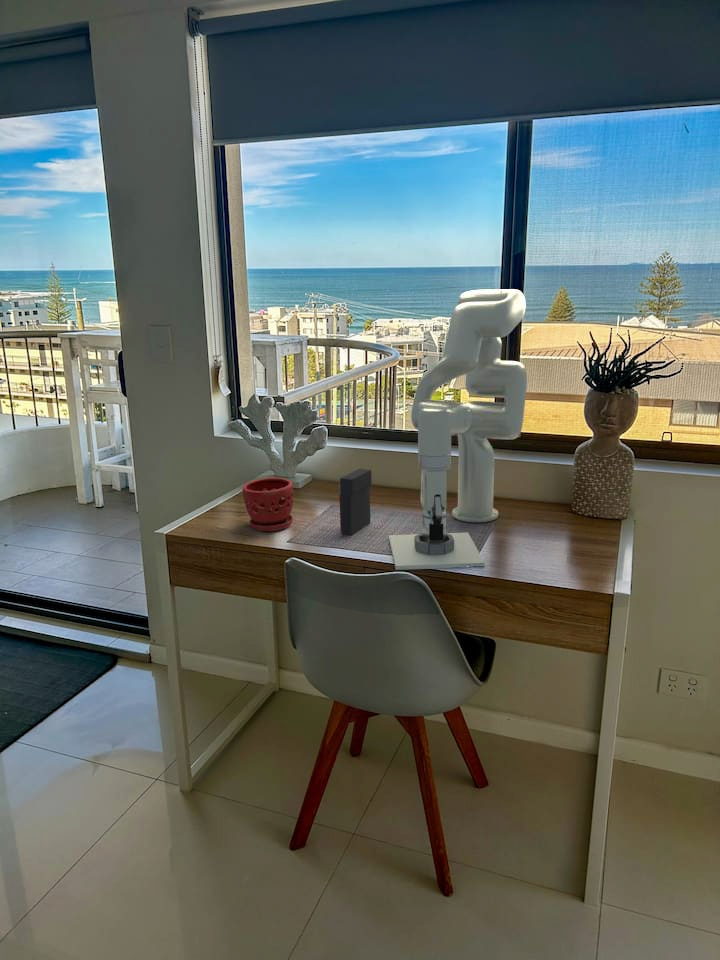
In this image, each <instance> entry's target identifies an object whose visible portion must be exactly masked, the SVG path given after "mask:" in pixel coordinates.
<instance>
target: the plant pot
mask: <svg viewBox="0 0 720 960" xmlns="http://www.w3.org/2000/svg"><path fill="white" fill-rule="evenodd" d="M293 487H294V486H293V482H292V481H291V480H290V479H286V478H281V477H266V478H265V477H264V478H260V479H256V480H251V481H249V482H247V483H245V484H244V485H243V487H242V494H243V495H242V496H243V501H244V505H245V508H246V512H247V513H248V515H249V517H250V520H249V525H250V527H252V529H255V530H257V531H259V532H276V531H281V530H283V529H285V528H288V527H289V526H290V525H291V524H292V523H293V520H294V517H293V516H292V515H291V513H292V511H293V506H294V488H293ZM264 489H266V490H264Z"/></svg>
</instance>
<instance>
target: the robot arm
mask: <svg viewBox="0 0 720 960" xmlns="http://www.w3.org/2000/svg"><path fill="white" fill-rule="evenodd" d="M526 307H527V304H526V297H525V295H524V293H523V292H522V291H521V290H519V289H514V288H511V289H510V288H509V289H500V288H499V289H475V290H474V289H473V290H468V291H465V292H463V293H461V294H460V296H458V301H457V306H456V307H455V308H454V309H453V311H452V314H451V317H450V322H449V325H448V330H447V335H446V339H445V343H444V348H443V353H442V357H441V359H440V360H439V361H438V362H437V363H435V364H434V365H433V366H432V367H431V368H430V369H429V370H428V371H427V372H426V373H425V374H424V375H423V377H422V378H421V380H420V381H419V383H418V384H417V386H416V390H415V393H414V396H413V397H414V398H413V401H412V402H413V403H412V407H411V413H410V414H411V415H410V416H411V417H410V418H411V423H412V426H413V428H415V429H416V430H417V439H418V440H417V450H418V451H417V452H418V453H417V454H418V456H417V458H418V459H417V461H418V463H417V464H418V465H417V468H419V469H420V470H421V476H420V504H421V506H422V510H423V509H424V511H425V512H428V511H430V522H431V523H429V539H430V540H443V512H444V511H445V510H446V511H447V471H448V470H449V469H451V468H452V436H454V435H457V444H458V460H457V461H458V465H457V466H458V472H457V474H458V476H457V483H458V484H457V506H456V507H454V508H453V509H452V511H451V516H452V517H453V518H454V519H456V520H459V521H461V522H467V523H488V522H492V521H494V520H496V519H498V517H499V511H498V510H497V509H496V508H494V484H495V483H494V480H495V478H494V477H495V452H494V448H493V446H492V445H491V443H490V442H489V440H488V439H493V440H508V441H509V440H515V439H517V438H519V436H520V435H521V433H522V429H523V423H524V414H525V405H526V397H527V386H528V374H527V369H526V367H525V365H524V364H523V363H522V362H519V361H515V360H501V357H502V346H503V345H502V339H501V338H505V337H507V336H508V335H509V334H511V333H512V332H513V330H514V329H515V328H516V327H517V326H518V325H519V324H520V322H521V321H522V320H523V317H524V315H525V312H526ZM464 375H465V389H466V392H467V393H468V394H470V395H471V396H476V397H487V398H491V397H492V398H503V399H505V402H497V401H496V402H494V401H483V400H481V401H480V400H469V401H466V402H462V401H461V402H459V401H449V400H448V401H447V400H446V401H445V400H434V399H433V400H432V398H433V395H434V394H435V392H436V391H437V390H438V389H439V388H440V387H441V386H443V385H444V384H446V383H448V382H450V381H453V380H455V379H457V378H459V377H462V376H464ZM432 508H435V511H432ZM433 513H435V515H434V517H433Z"/></svg>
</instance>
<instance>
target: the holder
mask: <svg viewBox="0 0 720 960" xmlns="http://www.w3.org/2000/svg"><path fill="white" fill-rule="evenodd" d="M388 540H389V545H390V546H389V547H390V549H391V554H392V558H393V559H394V560H393V559H392V560H393V563H394V567H395V568H394V569H395V571H404V570H405V571H406V570H425V569H426V570H430V569H431V570H432V569H433V570H434V569H454V568H453V567H464V568H473V567H472V566H486V562H485V560H484V559H483V557H482V555H481V554H480V551H479V550H478V548H477V546H476V544H475V542H474V541H473V539H472V537H471V535H470V534H469V532H452V533H451V532H446V542H444V543H435V544H429V543H426V542H423V532H421V533H419V534H418V533H415V534H414V533H413V534H389V535H388ZM467 566H468V567H467ZM451 567H452V568H451Z"/></svg>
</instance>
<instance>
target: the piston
mask: <svg viewBox="0 0 720 960" xmlns="http://www.w3.org/2000/svg"><path fill="white" fill-rule="evenodd" d="M432 511H435V508H432ZM434 515H435V513H433V517H434ZM421 516H422V533H423V542H426V543H429V544H435V543H444V542H446V533H447V509H446V510H445V511H444V512H443V540H430V539H429V523H431V522H430V511H428V512H425V511H424V509H423V508H422V514H421Z"/></svg>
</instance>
